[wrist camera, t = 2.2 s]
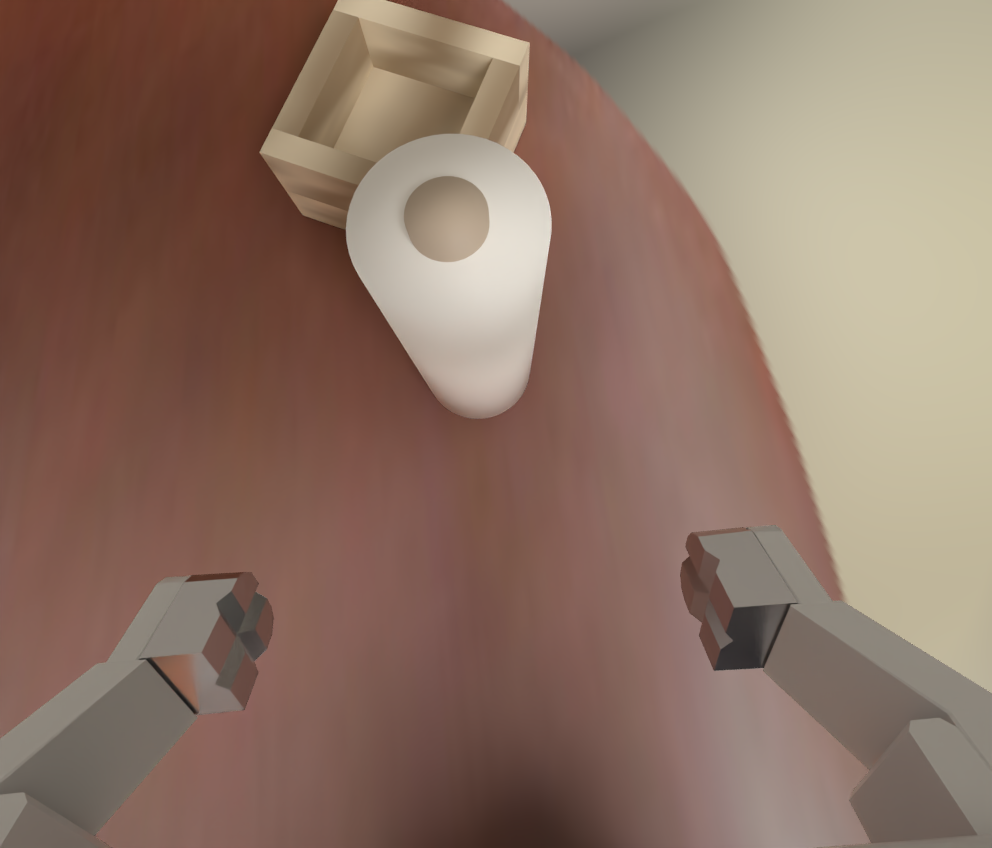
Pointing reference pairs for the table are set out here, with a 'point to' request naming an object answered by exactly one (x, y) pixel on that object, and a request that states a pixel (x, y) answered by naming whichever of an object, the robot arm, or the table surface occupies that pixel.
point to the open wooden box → (390, 98)
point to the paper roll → (456, 264)
